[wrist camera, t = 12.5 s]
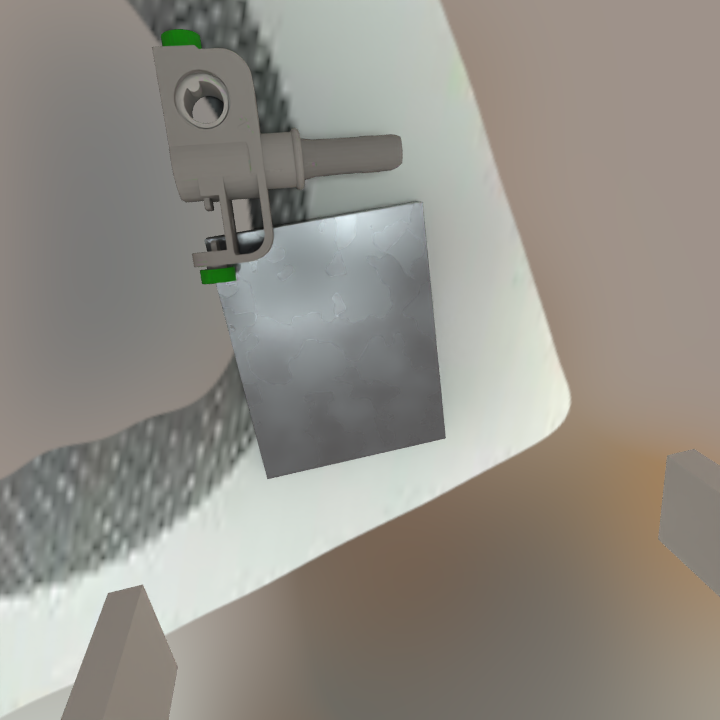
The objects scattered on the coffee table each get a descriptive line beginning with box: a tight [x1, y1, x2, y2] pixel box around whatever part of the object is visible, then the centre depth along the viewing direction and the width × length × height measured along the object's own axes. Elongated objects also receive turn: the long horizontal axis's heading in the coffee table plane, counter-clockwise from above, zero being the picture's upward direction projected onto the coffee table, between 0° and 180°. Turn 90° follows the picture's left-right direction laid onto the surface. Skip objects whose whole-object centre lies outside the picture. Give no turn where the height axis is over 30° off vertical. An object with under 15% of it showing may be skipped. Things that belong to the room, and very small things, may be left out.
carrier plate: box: [205, 201, 446, 479], centre depth 27 cm, size 14×11×1 cm
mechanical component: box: [152, 29, 402, 284], centre depth 22 cm, size 3×10×10 cm
